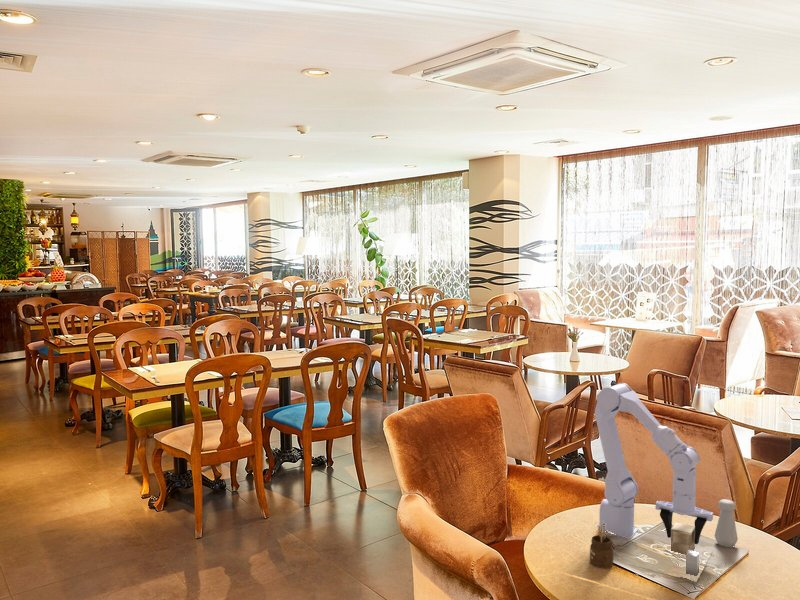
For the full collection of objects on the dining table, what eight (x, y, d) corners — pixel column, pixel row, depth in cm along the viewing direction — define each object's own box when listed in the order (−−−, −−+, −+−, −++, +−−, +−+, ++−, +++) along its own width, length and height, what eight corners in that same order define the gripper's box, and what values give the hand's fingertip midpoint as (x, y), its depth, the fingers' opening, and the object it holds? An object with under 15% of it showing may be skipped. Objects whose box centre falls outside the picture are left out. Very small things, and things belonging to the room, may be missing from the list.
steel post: (685, 573, 166) (686, 553, 166) (688, 569, 168) (688, 549, 168) (696, 576, 165) (697, 556, 164) (698, 572, 167) (699, 552, 166)
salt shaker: (739, 551, 179) (741, 505, 178) (717, 549, 180) (719, 504, 179) (733, 541, 185) (734, 497, 184) (712, 540, 186) (713, 496, 185)
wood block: (670, 551, 179) (671, 528, 178) (675, 544, 183) (675, 522, 182) (690, 556, 175) (691, 533, 175) (694, 549, 180) (695, 526, 179)
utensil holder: (613, 560, 175) (613, 517, 174) (612, 571, 169) (613, 527, 168) (590, 557, 176) (590, 515, 176) (589, 568, 171) (589, 524, 170)
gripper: (652, 490, 179) (651, 538, 180) (709, 502, 170) (708, 552, 171) (659, 483, 185) (658, 529, 186) (715, 494, 176) (713, 542, 177)
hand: (683, 539), depth 179 cm, fingers open, 6 cm apart
